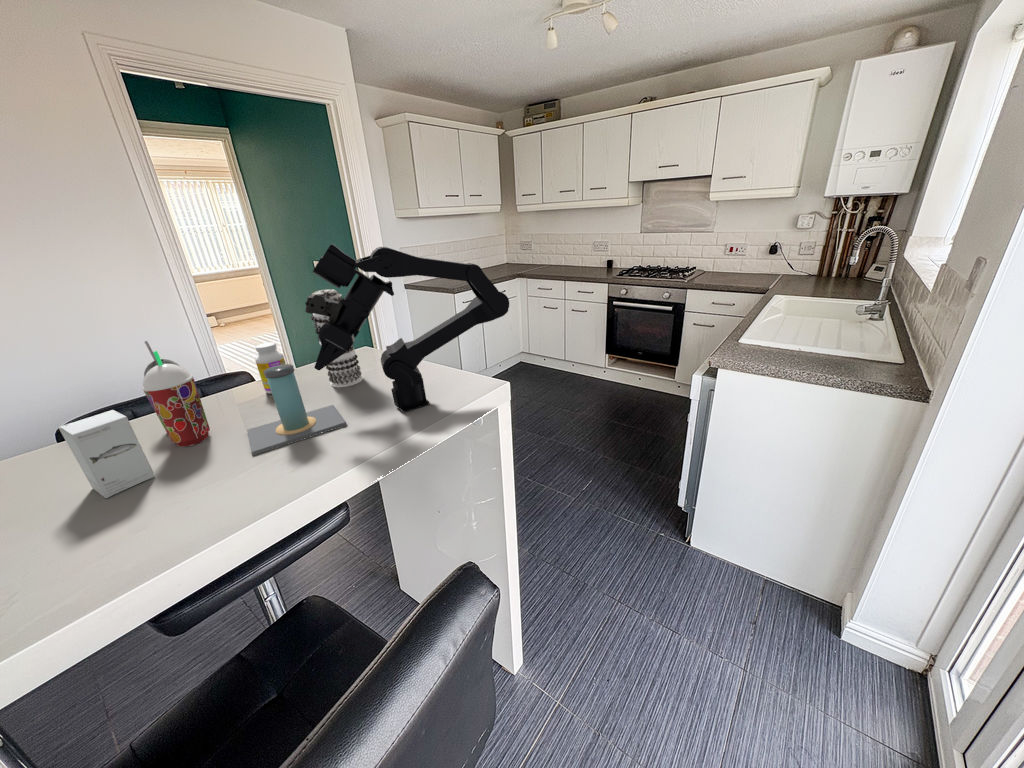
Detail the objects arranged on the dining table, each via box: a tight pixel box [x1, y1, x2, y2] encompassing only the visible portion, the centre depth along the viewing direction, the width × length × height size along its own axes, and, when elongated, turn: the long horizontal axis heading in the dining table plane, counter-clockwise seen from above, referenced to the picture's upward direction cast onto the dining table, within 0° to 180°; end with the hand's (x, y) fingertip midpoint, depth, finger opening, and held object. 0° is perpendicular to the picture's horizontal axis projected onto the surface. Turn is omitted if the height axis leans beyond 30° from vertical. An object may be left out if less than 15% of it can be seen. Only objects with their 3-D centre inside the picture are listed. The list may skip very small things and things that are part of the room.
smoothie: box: [141, 350, 211, 448], centre depth 84 cm, size 8×8×20 cm
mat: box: [246, 404, 348, 456], centre depth 89 cm, size 18×12×1 cm, turn 125°
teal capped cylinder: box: [264, 363, 309, 431], centre depth 86 cm, size 5×5×13 cm
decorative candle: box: [310, 288, 363, 388], centre depth 109 cm, size 9×9×25 cm
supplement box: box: [58, 409, 156, 499], centre depth 72 cm, size 7×7×13 cm
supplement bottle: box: [254, 341, 287, 395], centre depth 110 cm, size 7×7×13 cm
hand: (320, 364), depth 86 cm, fingers open, 9 cm apart
